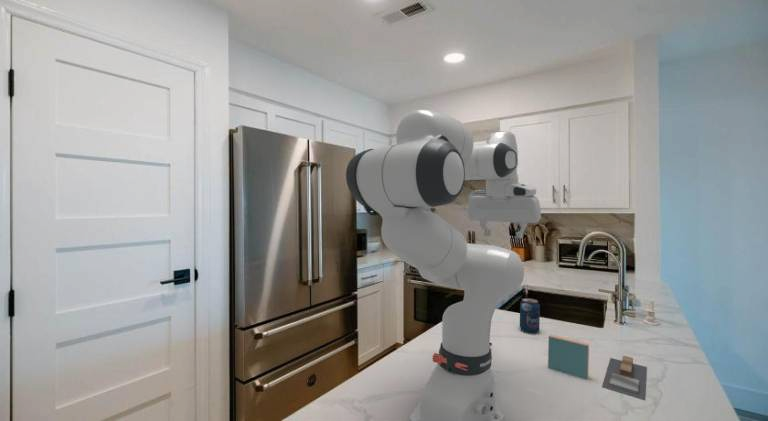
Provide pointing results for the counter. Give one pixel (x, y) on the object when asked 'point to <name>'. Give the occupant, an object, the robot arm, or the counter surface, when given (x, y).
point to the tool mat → (637, 373)
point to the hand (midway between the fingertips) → (502, 236)
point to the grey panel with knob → (625, 377)
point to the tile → (568, 356)
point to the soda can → (529, 315)
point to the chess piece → (651, 314)
